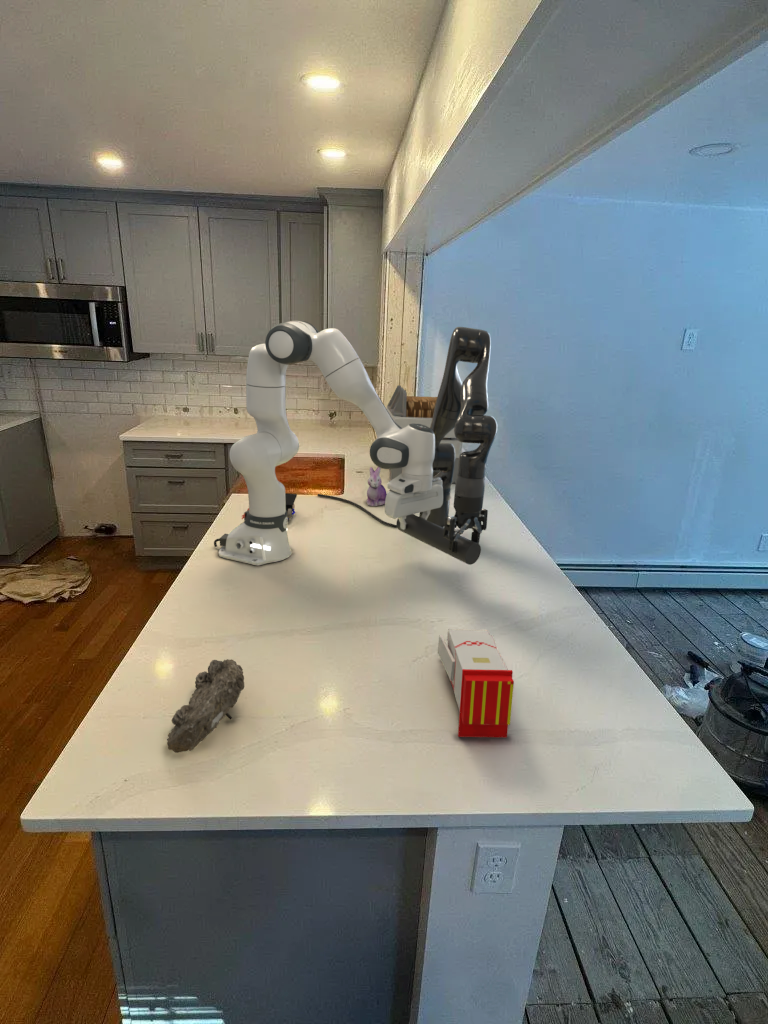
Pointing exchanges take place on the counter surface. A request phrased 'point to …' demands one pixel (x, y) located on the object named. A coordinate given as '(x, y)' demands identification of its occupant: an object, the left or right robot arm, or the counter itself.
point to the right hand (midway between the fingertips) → (463, 549)
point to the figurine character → (290, 504)
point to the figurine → (375, 489)
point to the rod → (440, 539)
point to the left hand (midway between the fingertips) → (413, 526)
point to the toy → (478, 682)
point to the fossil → (206, 705)
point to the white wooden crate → (418, 420)
